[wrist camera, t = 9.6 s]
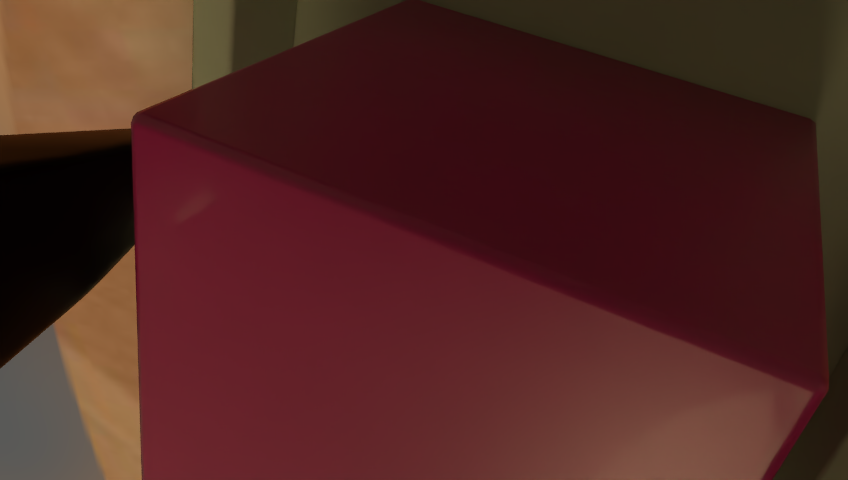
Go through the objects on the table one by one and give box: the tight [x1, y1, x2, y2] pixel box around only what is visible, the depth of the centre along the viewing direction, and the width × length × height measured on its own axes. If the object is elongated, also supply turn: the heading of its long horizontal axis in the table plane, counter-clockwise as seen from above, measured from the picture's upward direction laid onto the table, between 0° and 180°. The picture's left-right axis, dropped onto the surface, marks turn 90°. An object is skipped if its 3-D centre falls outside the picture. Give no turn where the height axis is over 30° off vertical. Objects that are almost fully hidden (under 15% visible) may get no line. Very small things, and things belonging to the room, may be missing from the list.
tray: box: [192, 0, 848, 480], centre depth 10 cm, size 10×9×2 cm
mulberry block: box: [131, 0, 829, 480], centre depth 8 cm, size 5×5×5 cm
